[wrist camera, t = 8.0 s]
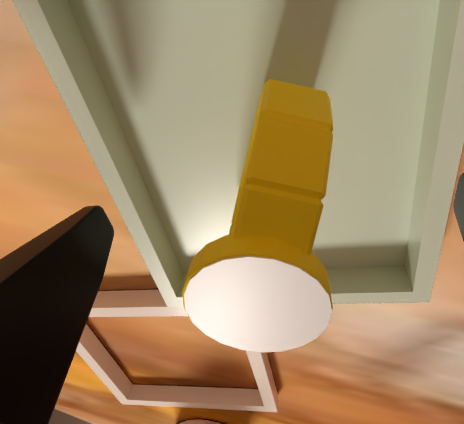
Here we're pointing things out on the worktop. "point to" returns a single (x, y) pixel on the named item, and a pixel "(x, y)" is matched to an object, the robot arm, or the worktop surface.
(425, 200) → the tray
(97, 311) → the white square frame
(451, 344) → the worktop surface
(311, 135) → the watch
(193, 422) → the supplement bottle
